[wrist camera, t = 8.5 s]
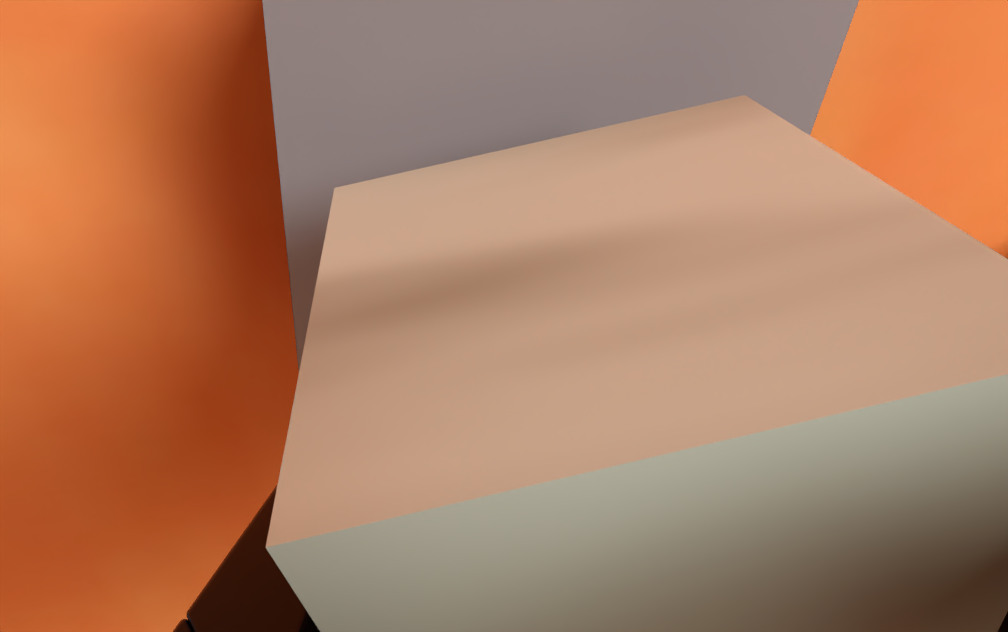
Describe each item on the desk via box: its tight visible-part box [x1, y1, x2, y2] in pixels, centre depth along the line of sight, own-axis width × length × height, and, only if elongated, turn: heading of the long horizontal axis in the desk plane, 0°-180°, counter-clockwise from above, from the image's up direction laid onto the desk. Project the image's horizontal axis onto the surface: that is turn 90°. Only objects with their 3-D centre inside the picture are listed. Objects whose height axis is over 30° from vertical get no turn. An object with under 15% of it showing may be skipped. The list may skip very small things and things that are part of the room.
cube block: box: [266, 95, 1008, 632], centre depth 7 cm, size 5×5×5 cm
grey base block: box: [262, 0, 859, 370], centre depth 12 cm, size 8×8×4 cm
